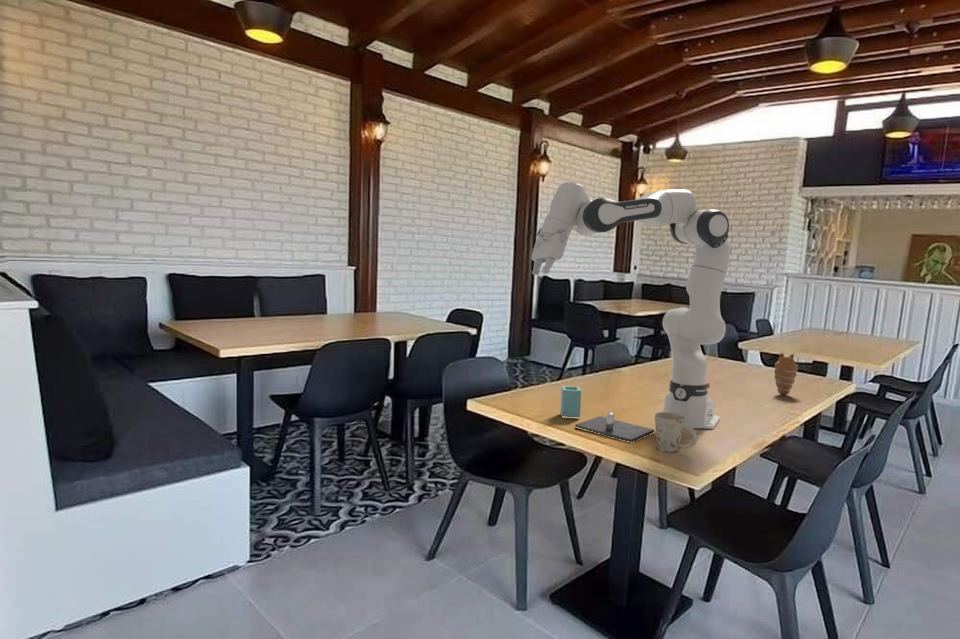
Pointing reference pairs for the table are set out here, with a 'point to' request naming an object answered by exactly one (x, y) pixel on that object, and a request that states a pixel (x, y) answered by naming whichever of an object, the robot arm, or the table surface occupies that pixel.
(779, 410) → the table surface
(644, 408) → the table surface
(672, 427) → the mug
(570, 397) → the sleeve
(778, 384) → the cat ice cream
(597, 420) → the plate
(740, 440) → the table surface
